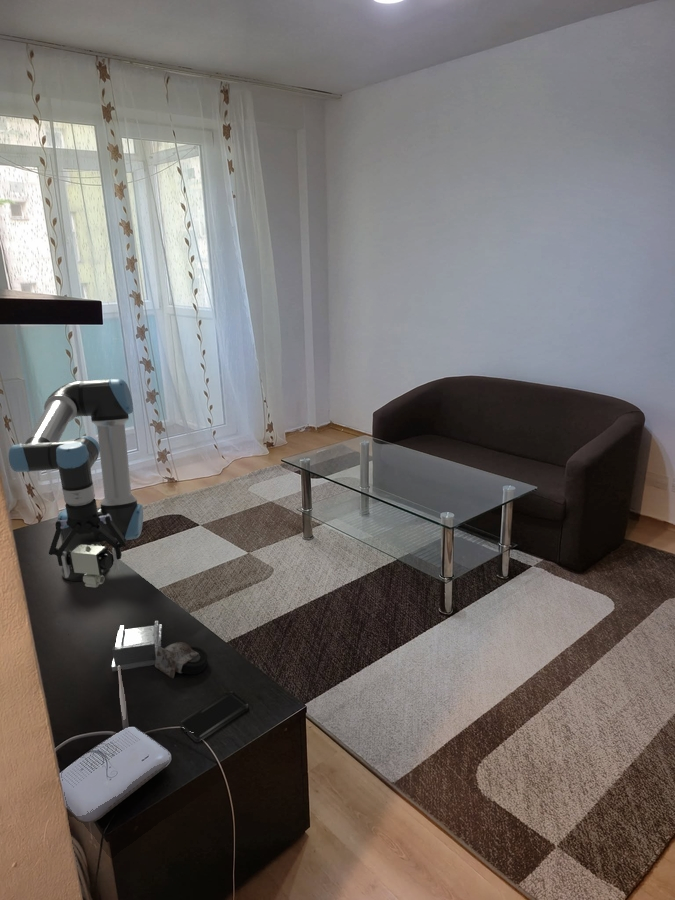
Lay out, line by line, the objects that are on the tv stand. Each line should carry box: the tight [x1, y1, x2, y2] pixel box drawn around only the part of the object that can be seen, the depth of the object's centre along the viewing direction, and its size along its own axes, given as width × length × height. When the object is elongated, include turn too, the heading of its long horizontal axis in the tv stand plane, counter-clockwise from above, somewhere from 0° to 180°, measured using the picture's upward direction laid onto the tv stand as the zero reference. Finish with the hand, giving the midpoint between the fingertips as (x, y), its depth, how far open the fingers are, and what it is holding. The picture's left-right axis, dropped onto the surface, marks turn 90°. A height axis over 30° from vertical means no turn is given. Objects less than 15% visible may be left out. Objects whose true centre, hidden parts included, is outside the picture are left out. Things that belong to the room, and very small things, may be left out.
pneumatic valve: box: [66, 544, 114, 589], centre depth 169 cm, size 6×12×12 cm, turn 78°
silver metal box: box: [111, 620, 163, 672], centre depth 170 cm, size 16×12×6 cm
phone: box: [179, 690, 249, 743], centre depth 146 cm, size 8×1×15 cm
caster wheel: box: [154, 641, 209, 679], centre depth 162 cm, size 7×11×10 cm
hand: (92, 572), depth 170 cm, fingers closed on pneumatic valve, 12 cm apart
